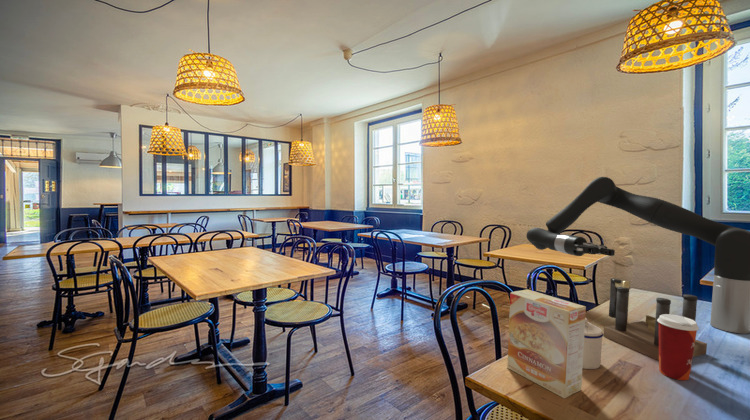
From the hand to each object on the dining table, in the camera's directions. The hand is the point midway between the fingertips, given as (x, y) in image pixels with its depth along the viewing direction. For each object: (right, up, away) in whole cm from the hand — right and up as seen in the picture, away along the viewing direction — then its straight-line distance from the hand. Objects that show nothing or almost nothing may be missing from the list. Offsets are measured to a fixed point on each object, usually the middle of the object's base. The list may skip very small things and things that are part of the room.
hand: (613, 252), depth 119 cm
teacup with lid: (-29, -25, -27) cm, 47 cm away
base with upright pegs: (-1, -25, -18) cm, 30 cm away
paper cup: (-9, -26, -34) cm, 43 cm away
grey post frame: (-4, -21, -8) cm, 23 cm away
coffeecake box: (-42, -26, -37) cm, 62 cm away
